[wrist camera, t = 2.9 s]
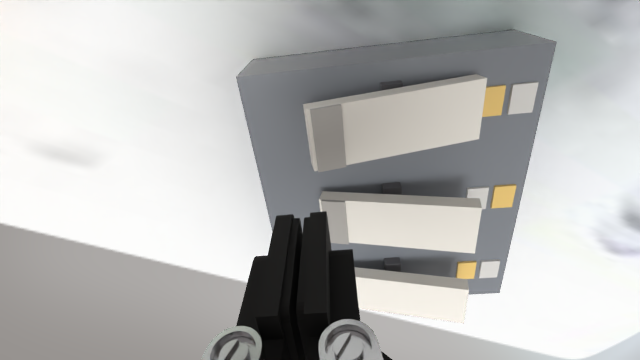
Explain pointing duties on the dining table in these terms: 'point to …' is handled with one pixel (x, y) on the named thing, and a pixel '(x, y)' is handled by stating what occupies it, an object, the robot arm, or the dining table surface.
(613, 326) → the dining table surface
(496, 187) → the console
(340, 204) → the rocker
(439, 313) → the rocker
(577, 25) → the dining table surface
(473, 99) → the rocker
